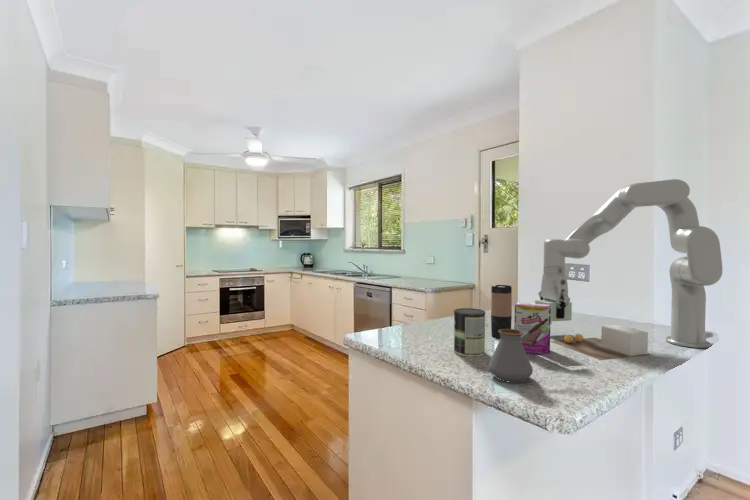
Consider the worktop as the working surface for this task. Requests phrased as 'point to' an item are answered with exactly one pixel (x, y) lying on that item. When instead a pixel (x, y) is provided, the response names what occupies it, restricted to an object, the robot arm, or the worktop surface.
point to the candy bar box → (527, 319)
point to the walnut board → (594, 349)
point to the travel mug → (500, 309)
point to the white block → (624, 340)
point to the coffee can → (469, 332)
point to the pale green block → (554, 307)
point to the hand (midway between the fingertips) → (553, 315)
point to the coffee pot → (512, 355)
